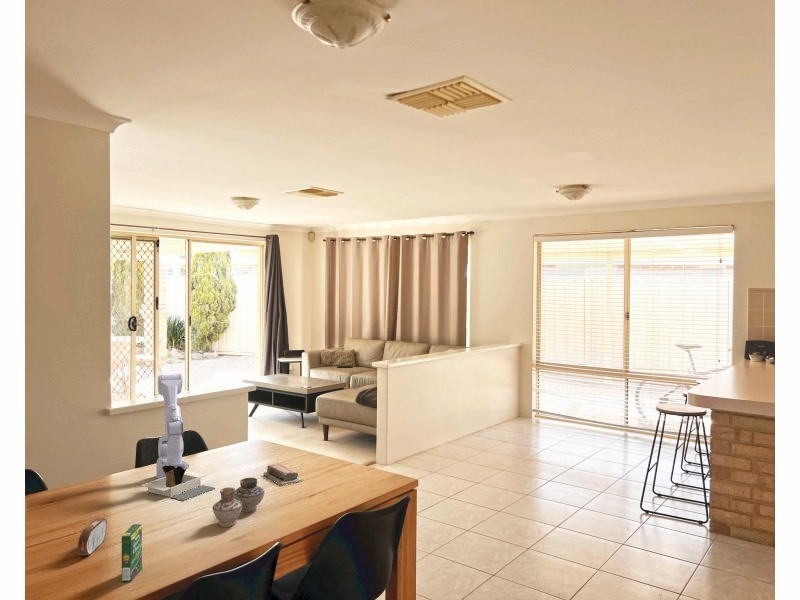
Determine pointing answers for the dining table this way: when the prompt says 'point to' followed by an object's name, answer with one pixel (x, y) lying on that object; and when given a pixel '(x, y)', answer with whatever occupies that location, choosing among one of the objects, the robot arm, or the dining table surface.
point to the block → (171, 479)
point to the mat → (193, 492)
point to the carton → (160, 488)
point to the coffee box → (131, 552)
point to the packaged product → (282, 474)
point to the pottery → (237, 501)
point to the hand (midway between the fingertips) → (174, 483)
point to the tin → (92, 536)
